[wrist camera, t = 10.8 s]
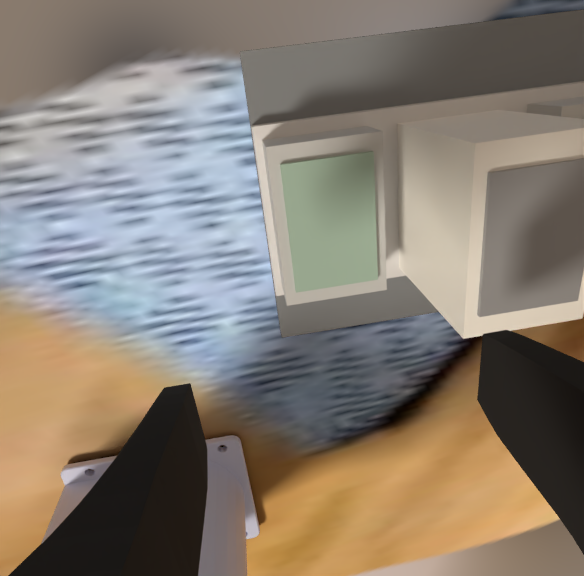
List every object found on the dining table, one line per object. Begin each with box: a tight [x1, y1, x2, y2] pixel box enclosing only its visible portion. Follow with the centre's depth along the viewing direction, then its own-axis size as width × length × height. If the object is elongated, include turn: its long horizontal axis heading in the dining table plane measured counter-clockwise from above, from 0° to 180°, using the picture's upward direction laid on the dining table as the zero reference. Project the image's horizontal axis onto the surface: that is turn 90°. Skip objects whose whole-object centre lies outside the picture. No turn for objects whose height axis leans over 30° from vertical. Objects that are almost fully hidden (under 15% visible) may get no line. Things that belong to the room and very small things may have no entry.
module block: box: [397, 110, 584, 339], centre depth 16 cm, size 4×6×6 cm, turn 7°
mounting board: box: [240, 9, 584, 338], centre depth 18 cm, size 15×12×4 cm
